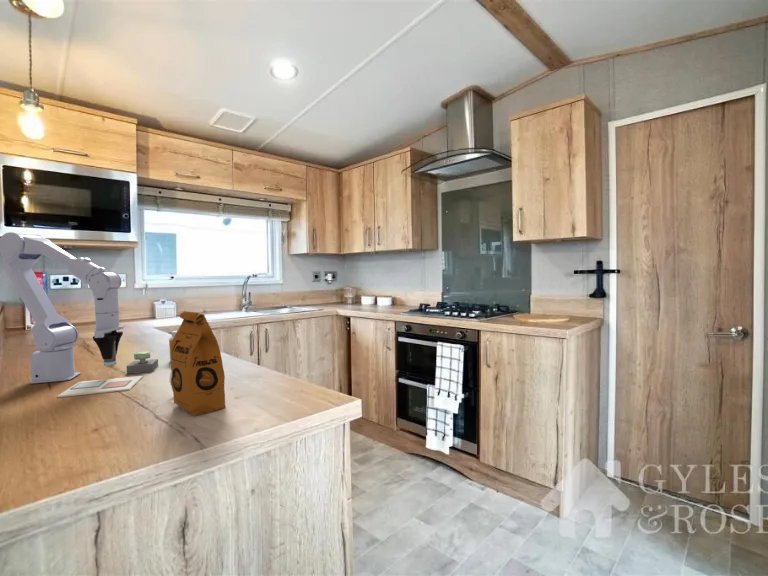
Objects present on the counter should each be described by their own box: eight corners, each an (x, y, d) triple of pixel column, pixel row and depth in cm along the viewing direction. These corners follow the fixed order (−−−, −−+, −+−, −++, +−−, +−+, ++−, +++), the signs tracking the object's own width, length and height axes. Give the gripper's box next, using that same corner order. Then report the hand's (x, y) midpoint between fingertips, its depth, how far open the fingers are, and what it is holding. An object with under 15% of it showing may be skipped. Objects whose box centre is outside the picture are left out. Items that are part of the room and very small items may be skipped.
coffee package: (185, 420, 82) (179, 316, 80) (168, 406, 91) (163, 312, 90) (232, 408, 89) (227, 311, 87) (212, 395, 98) (208, 308, 96)
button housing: (127, 373, 120) (126, 366, 120) (134, 368, 127) (133, 361, 127) (152, 371, 122) (152, 363, 122) (158, 366, 129) (157, 358, 129)
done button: (132, 368, 122) (132, 355, 121) (137, 364, 126) (136, 352, 126) (148, 366, 123) (148, 353, 123) (152, 363, 127) (151, 351, 127)
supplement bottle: (171, 362, 133) (169, 333, 132) (169, 359, 138) (167, 331, 137) (189, 360, 136) (187, 331, 136) (187, 357, 141) (185, 329, 140)
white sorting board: (57, 397, 99) (57, 395, 99) (79, 383, 111) (79, 381, 111) (129, 390, 104) (129, 388, 104) (143, 376, 116) (143, 375, 116)
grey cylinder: (102, 366, 115) (100, 339, 114) (106, 363, 118) (104, 337, 117) (114, 365, 116) (112, 338, 115) (117, 362, 119) (116, 336, 118)
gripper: (114, 314, 110) (116, 362, 111) (130, 309, 124) (132, 351, 125) (84, 315, 108) (87, 364, 109) (104, 310, 122) (106, 353, 123)
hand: (109, 357), depth 117 cm, fingers closed on grey cylinder, 3 cm apart
